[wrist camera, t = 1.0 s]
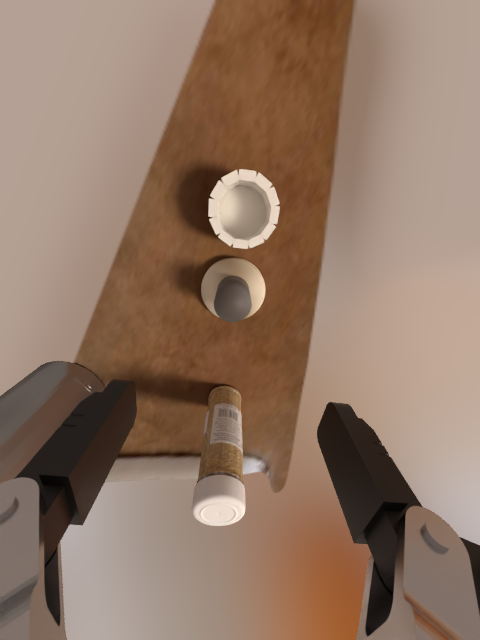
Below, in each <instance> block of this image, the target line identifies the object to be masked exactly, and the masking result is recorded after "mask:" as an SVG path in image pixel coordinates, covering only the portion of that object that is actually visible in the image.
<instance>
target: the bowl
mask: <svg viewBox="0 0 480 640" xmlns="http://www.w3.org/2000/svg"><path fill="white" fill-rule="evenodd" d="M221 179H222V181H223V183H222V182H221V181H220V180H219V181H218V182H217V184H216V186H215V188H214V189H213V191H212V193H211V194H210V196H211V197H212V198H213V199H209V211H208V217H213V218H211V219H209V221H210V223H211V225H212V227H213V229H214V232H215V234H216V235H217V234H219V233H220V234H219V236H218V238H220V239H221V240H222V241H224V242H225V243H227V244H228V245H229V246H231V245H232V243H233V247H234V248H244V249H248V244H249V247H250V248H252V247H255V246H257V245H259V244H261V243H263V242H264V240H263V238H264V239H265V240H267V239H268V237H269V236H270V234H271V233H272V232H273V230H274V229H275V228H276V226H274V225H273V224H277V222H278V216H279V209H280V207H278V206H276V205H278V204H280V203H279V200H278V197H277V194H276V191H275V188H274V187H272V188H270V187H271V185H272V183H271V182H269V181H268V180H267V179H266V178H265V177H264V176H263V175H261V174H260V173H258V175H257V176H256V171H251V170H243V169H239V175H238V172H237V170H235V171H233V172H231V173H229V174H227V175H226V176H224V177H222V178H221ZM269 188H270V189H269Z"/></svg>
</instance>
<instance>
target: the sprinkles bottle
mask: <svg viewBox="0 0 480 640" xmlns="http://www.w3.org/2000/svg"><path fill="white" fill-rule="evenodd" d="M208 402H209V403H208V411H207V414H206V420H205V428H204V436H203V437H204V440H203V447H202V454H201V461H200V469H199V477H198V481H197V484H196V486H195V489H194V496H193V505H192V512H193V515H194V517H195V518H196V519H197V520H199V521H200V522H202V523H204V524H207V525H212V526H224V525H229V524H232V523H235V522H237V521H238V520H240V519H241V518H242V517H243V515H244V513H245V488H244V484H243V478H242V477H243V473H242V457H243V450H242V419H241V395H240V393H239V392H238V391H237V389H235V388H233V387H230V386H219V387H216V388H214V389H213V390H212V391H211V392H210V394H209V397H208Z"/></svg>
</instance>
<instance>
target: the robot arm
mask: <svg viewBox="0 0 480 640" xmlns="http://www.w3.org/2000/svg"><path fill="white" fill-rule="evenodd" d="M136 412H137V407H136V393H135V383H134V382H133V381H124V380H112V381H111V382H110V383H109V384H108V385H107V387H106V388H104V386H103V384H102V383H101V381H100V380H99V379H98V378H97V377H96V376H95V375H94V374H93V373H92V372H90V371H89V370H87V369H86V368H84V367H82V366H79V365H77V364H74V363H70V362H64V361H53V362H49V363H46V364H43V365H41V366H40V367H38V368H37V369H36V370H35V371H33V372H32V373H31V374H29V375H28V376H27V377H25V378H24V379H23V380H22V381H20V382H19V383H17V384H16V385H15V386H13V387H12V388H11V389H9V390H8V391H7V392H5V393H4V394H3V395H1V396H0V640H67V638H66V631H65V622H64V602H63V583H62V565H61V545H60V540H61V539H62V537H63V535H64V533H65V531H66V529H67V528H68V526H69V524H73V525H74V524H75V525H83V523H84V521H85V519H86V517H87V515H88V513H89V511H90V509H91V508H92V505H93V504H94V502H95V499H96V498H97V496H98V494H99V492H100V490H101V487H102V486H103V484H104V482H105V480H106V478H107V476H108V474H109V472H110V470H111V468H112V466H113V464H114V462H115V460H116V458H117V456H118V454H119V452H120V450H121V448H122V446H123V444H124V442H125V440H126V438H127V436H128V434H129V432H130V430H131V428H132V426H133V424H134V421H135V418H136ZM317 438H318V443H319V446H320V448H321V451H322V454H323V457H324V460H325V463H326V465H327V468H328V471H329V474H330V477H331V479H332V482H333V485H334V488H335V490H336V494H337V496H338V499H339V502H340V505H341V508H342V510H343V513H344V516H345V519H346V522H347V524H348V527H349V530H350V533H351V536H352V538H353V541H354V543H359V544H368V546H369V548H370V551H371V555H370V557H369V561H368V568H367V576H366V583H365V589H364V596H363V603H362V610H361V617H360V623H359V630H358V636H357V639H356V640H480V546H479V545H477V544H475V543H472V542H470V541H468V540H465V539H463V538H460V537H459V536H458V535H457V534H456V532H455V531H454V530H453V529H452V528H451V527H450V525H449V524H447V523H446V522H445V521H444V520H443V519H442V518H441V517H439V516H438V515H436V514H435V513H434V512H432V511H430V510H428V509H426V508H423V507H422V505H421V504H420V502H419V501H418V499H417V498H416V496H415V495H414V493H413V492H412V490H411V488H410V487H409V485H408V484H407V482H406V481H405V479H404V477H403V476H402V474H401V473H400V471H399V470H398V468H397V466H396V465H395V463H394V462H393V460H392V458H391V457H389V454H388V452H387V451H386V449H385V447H384V446H382V443H381V441H380V440H379V438H378V436H377V435H376V433H375V432H374V430H373V429H372V428H371V427H370V426H369V425H368V424H367V423H366V422H365V421H364V420H363V419H360V418H358V417H357V416H356V414H355V412H354V411H353V409H352V407H351V406H350V405H348V404H343V403H333V402H329V403H328V404H327V406H326V409H325V411H324V414H323V416H322V419H321V421H320V424H319V426H318V430H317Z"/></svg>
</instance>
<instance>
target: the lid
mask: <svg viewBox="0 0 480 640" xmlns="http://www.w3.org/2000/svg"><path fill="white" fill-rule="evenodd" d="M201 294H202V298H203V301H204V303H205V305H206V307H207V308H208V309H209V310H210V311H211V312H212V313H213V314H214V315H216V316H217V317H219V318H221V319H223V320H225V321H228V322H238V321H241V320H243V319H245V318H247V317H250V316H251V315H253V314H254V313H255V312H256V311H257V310H258V309H259V308H260V306H261V305H262V303H263V300H264V297H265V283H264V280H263V277H262V275H261V273H260V271H259V270H258V269H257V268H256V266H254V265H253V264H252V263H250V262H249V261H247V260H245V259H242V258H237V257H230V258H225V259H222V260H219V261H217V262H216V263H214V264H213V265H212V266H211V267H210V268H209V269H208V271H207V272H206V274H205V276H204V278H203V280H202V285H201Z"/></svg>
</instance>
